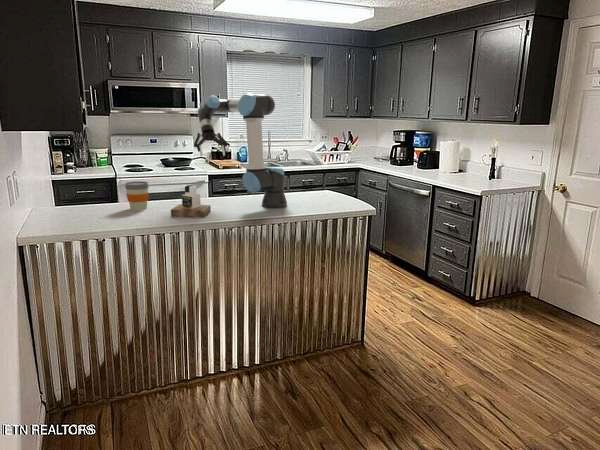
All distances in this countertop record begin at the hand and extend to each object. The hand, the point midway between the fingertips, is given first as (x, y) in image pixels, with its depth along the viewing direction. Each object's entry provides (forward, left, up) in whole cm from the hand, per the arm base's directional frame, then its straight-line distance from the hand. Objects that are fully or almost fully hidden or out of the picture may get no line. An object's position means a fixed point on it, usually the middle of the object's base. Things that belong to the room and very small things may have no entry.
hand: (213, 155), depth 263 cm
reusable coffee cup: (+40, +19, -30) cm, 53 cm away
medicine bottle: (+6, +29, -26) cm, 40 cm away
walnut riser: (+6, +30, -30) cm, 43 cm away
